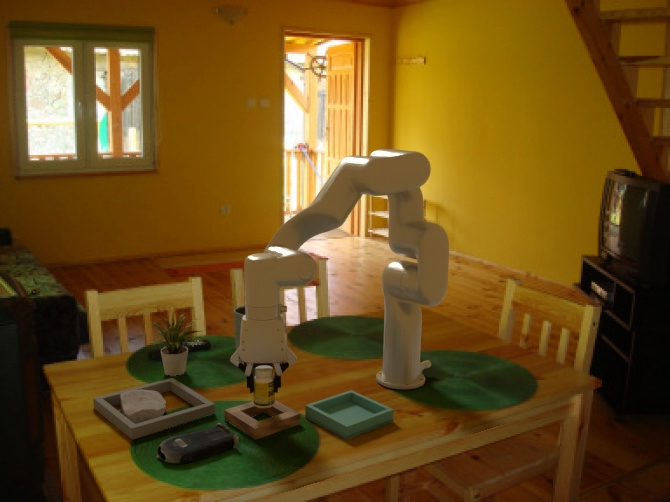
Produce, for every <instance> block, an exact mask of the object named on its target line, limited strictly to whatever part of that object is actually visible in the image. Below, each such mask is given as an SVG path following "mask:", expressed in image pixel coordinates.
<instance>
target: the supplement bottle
mask: <svg viewBox="0 0 670 502" xmlns="http://www.w3.org/2000/svg"><path fill="white" fill-rule="evenodd" d="M252 394H253V396H252V397H253V400H252V401H253V402H254V406H255V407H258V408H270V407H272V406H273V405H274V404H275V400H276V393H275V392H274V367H272V366H270V365H264V364H263V365H258V366H256V367H255V368H254V378H253V393H252Z"/></svg>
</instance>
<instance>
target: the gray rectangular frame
mask: <svg viewBox="0 0 670 502" xmlns="http://www.w3.org/2000/svg"><path fill="white" fill-rule="evenodd" d="M140 389H143V390H154V391H157V392H159V393H160V394H163V393H167V392H172V393H173V394H175V395H177V396H178V397H179V398H181V399H182V400H184V401H185V402H187V403H188V404H190V405H191V406H192V407H189V408H185V409H182V410H179V411H176V412H175V411H174V412H173V413H169V414H166V415H163V416H161V417H158V418H155V419H151V420H148V421H144V422H141V423H137V424H134V423H133V422H132V421H131V420H129V419H128V418H127V417H125V416H124V415H123V414H122V412H121V411H119V410H118V409H117V408H115V406H118V405H120V395H121V394H122V393H124V392H127V391H131V390H140ZM92 401H93V409H94V410H96V411H97V412H98V413H99V414H100V415H101V416H103V417H104V418H105V419H106V420H108V421H109V422H110V423H111V424H112V425H113V426H115V427H116V428H117V429H119V431H121V432H122V433H123V434H124V435H126V436H127V437H128V438H129V439H131V440H136V439H139V438H142V437H145V436H146V437H147V436H148V435H152V434H156V433H159V432H163V431H165V429H166V430H168V428H169V429H171V427H172V428H175V427H178V426H177V425H179V426H181V425H180V424H182V425H184V424H183V423H185V424H187V423H186V422H189V421H192V420H194V419H197V418H199V417H203V416H206V415H210V414H214V413H215V414H216V404H215V402H213V401H211V400H210V399H208V398H207V397H204V396H203V395H201V394H200V393H198V392H196V391H194V390H193V389H192V388H190V387H188V386H187V385H185V384H183V383H182V382H181V381H178V380H177V379H175V378H174V377H170V378H167V379H163V380H159V381H158V380H157V381H154V382H151V383H147V384H143V385H139V386H135V387H131V388H127V389H124V390H119V391H114V392H112V393H107V394H104V395H101V396H96V397H93V400H92ZM192 422H193V421H192ZM189 423H190V422H189ZM174 426H175V427H174Z"/></svg>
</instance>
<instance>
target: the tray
mask: <svg viewBox="0 0 670 502" xmlns="http://www.w3.org/2000/svg"><path fill="white" fill-rule="evenodd" d="M304 408H305V410H304V411H305V416H304V418H306V419H307V420H309V421H311V422H313V423H315V425H316V424H317V426H320V427H322V428H324V429H325V430H327V431H329V432H331V433H333V434H334V435H336V436H339V437H340V438H342V439H344V440H346V441H348V440H350V439H353V438H356V437H358V436H361V435H363V434H366V433H367V432H368V433H369V432H371V431H374V430H376V429H379V428H381V427H384V426H386V425H389V424H391V423H393V422H394V409H393V408H391V407H389V406H387V405H385V404H382V403H380V402H378V401H376V400H374V399H372V398H370V397H367V396H366V395H363V394H361V393H359V392H356V391H354V390H352V389H350V390H348V391H344V392H341V393H338V394H336V395H333V396H332V395H331V396H330V397H326V398H324V399H320V400H317V401H314V402H310V403H308V404H305V406H304Z"/></svg>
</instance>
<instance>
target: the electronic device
mask: <svg viewBox="0 0 670 502" xmlns="http://www.w3.org/2000/svg"><path fill="white" fill-rule="evenodd" d="M239 441H240V440H239V436H238V435H237V434H235V433H234V432H232V431H231V429H230V428H228V427H227V425H224V424H223V423H221V422H217V424H215V426H213V427H211V428H205V429H203V430H198V431H194V432H190V433H185V434H179V435H174V436H170V437H169V438H167V439H164V440H163V441H162V442H161V443H160V444H159V445H158V446H157V452H156V458H159V459H160V460H162V461H164V462H166V463H170V464H175V465H176V464H178V465H179V464H181V465H182V464H186V463H187V464H188V463H191V462H196V461H199V460H202V459H204V458H207V457H210V456H213V455H216V454H218V453H222V452H224V451H226V450H228V449H230V448H232V447H233V449H237V448H238V445H239ZM235 447H236V448H235ZM162 455H164V457H165V459H163V456H162Z"/></svg>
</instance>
